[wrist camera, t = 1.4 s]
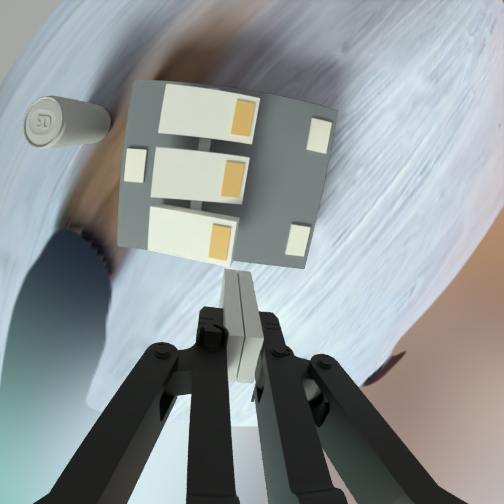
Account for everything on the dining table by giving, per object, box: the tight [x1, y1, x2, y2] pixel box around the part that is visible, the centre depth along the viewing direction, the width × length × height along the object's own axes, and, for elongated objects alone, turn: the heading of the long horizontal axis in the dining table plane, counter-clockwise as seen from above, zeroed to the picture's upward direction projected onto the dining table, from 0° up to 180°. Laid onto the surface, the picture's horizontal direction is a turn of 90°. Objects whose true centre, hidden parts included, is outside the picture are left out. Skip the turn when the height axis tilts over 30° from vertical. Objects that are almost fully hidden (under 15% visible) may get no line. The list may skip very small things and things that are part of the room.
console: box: [117, 80, 338, 269], centre depth 30 cm, size 20×17×7 cm
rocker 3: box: [148, 203, 240, 267], centre depth 27 cm, size 8×4×2 cm, turn 81°
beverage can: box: [23, 96, 111, 149], centre depth 24 cm, size 5×5×12 cm
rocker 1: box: [158, 84, 260, 144], centre depth 23 cm, size 8×4×2 cm, turn 78°
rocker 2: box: [151, 147, 250, 204], centre depth 25 cm, size 8×4×2 cm, turn 78°
